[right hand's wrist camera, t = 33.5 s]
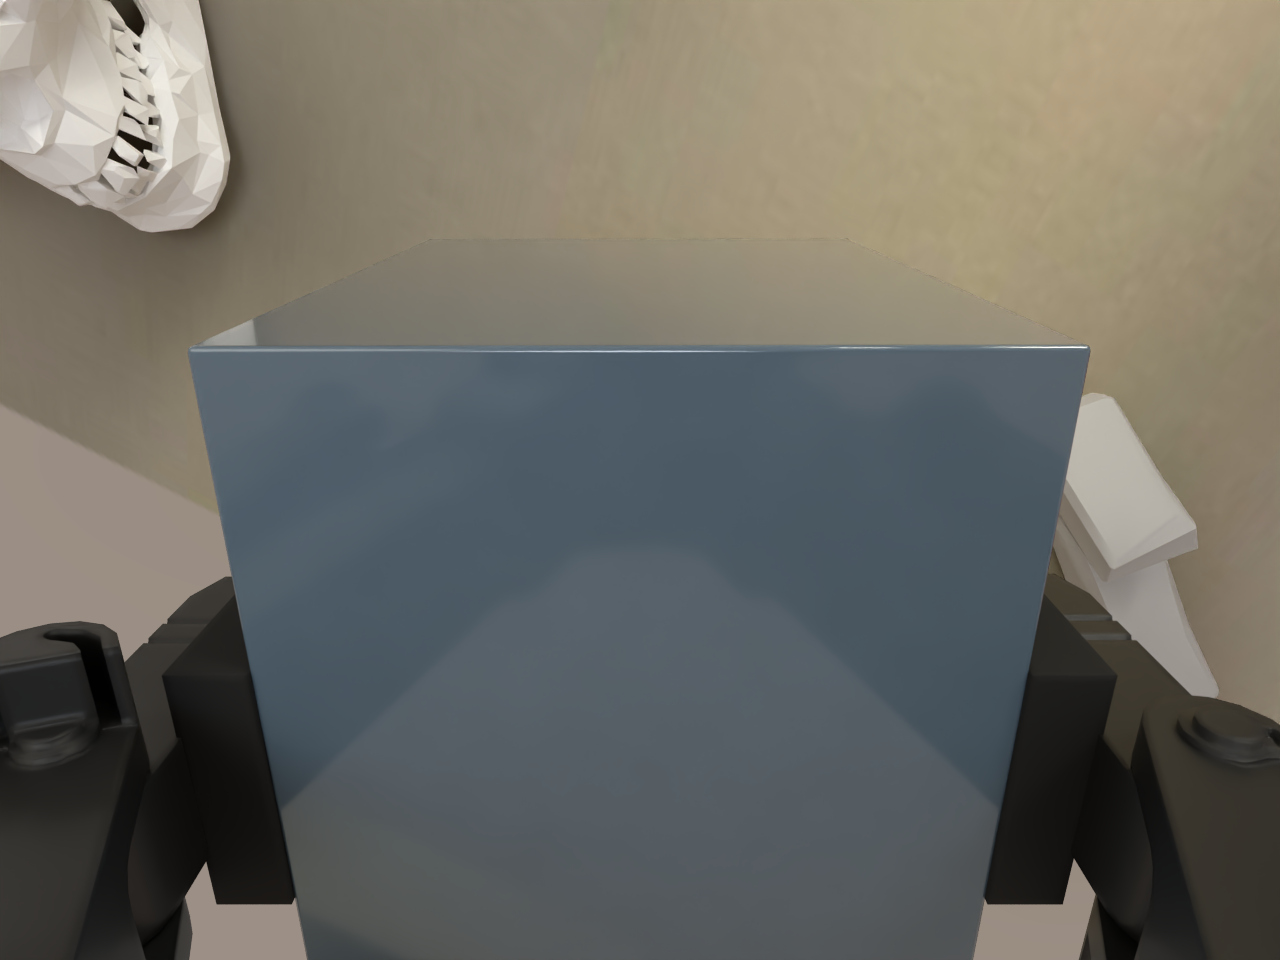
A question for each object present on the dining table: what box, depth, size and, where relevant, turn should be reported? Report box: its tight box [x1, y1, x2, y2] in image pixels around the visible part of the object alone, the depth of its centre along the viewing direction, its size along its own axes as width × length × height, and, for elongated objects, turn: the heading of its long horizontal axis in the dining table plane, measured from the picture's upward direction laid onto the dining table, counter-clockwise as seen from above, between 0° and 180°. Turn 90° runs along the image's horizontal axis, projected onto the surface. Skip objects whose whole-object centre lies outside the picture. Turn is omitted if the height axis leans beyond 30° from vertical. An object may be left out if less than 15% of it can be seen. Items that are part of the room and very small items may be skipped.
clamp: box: [1053, 393, 1219, 698], centre depth 36 cm, size 20×4×7 cm, turn 26°
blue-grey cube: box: [188, 239, 1090, 960], centre depth 12 cm, size 8×7×8 cm
